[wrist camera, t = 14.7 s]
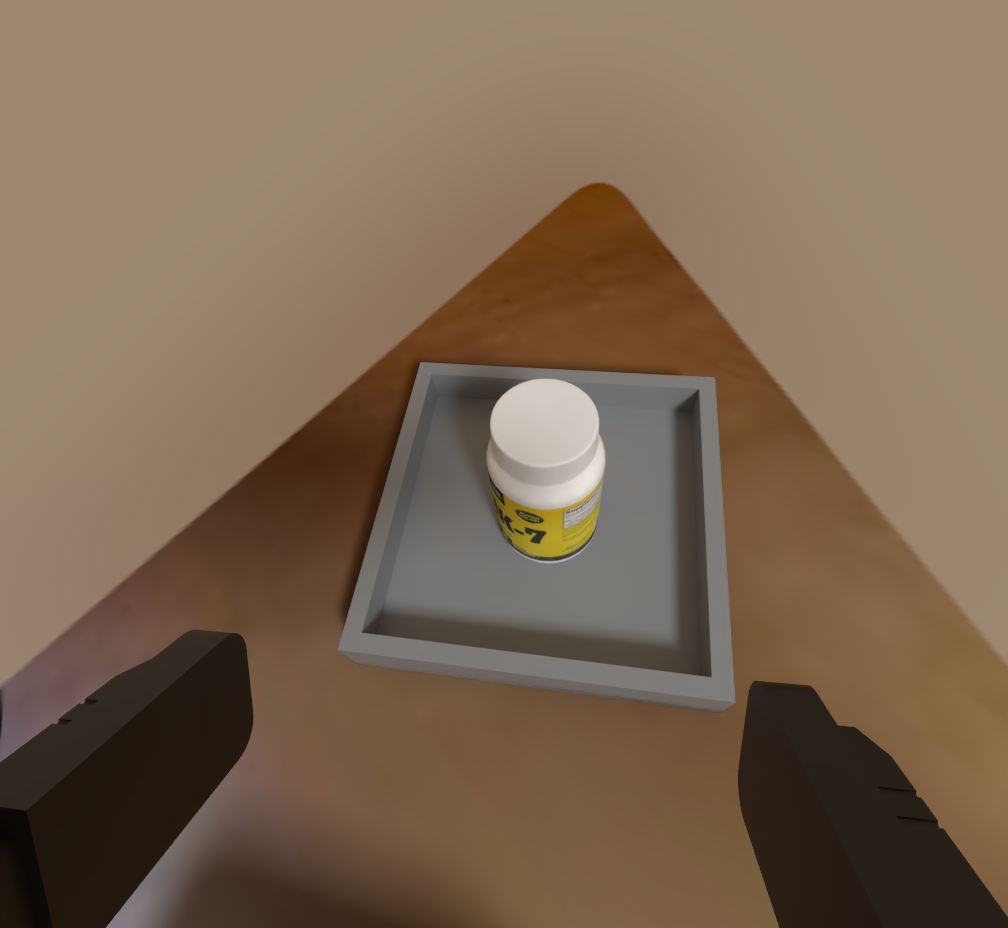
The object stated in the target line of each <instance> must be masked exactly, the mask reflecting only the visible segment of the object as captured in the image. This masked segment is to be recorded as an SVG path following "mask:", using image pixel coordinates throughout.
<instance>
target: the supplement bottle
mask: <svg viewBox="0 0 1008 928" xmlns="http://www.w3.org/2000/svg"><path fill="white" fill-rule="evenodd" d="M490 434H491V439H490V441H489V444H488V448H487V467H488V474H489V478H490V483H491V487H492V492H493V497H494V501H495V506H496V511H497V516H498V520H499V525H500V529H501V532H502V534H503V537H504V538H505V540H506V542H507V543H508V544H509V546H510V547H511V548H512V549H513V550H514V551H516V552H517V553H518V554H520V555H521V556H523V557H525V558H527V559H529V560H532V561H535V562H539V563H559V562H563V561H566V560H569V559H571V558H573V557H575V556H576V555H578V554H579V553H580V552H582V551H583V550H584V549H585V548H586V547H587V545H588V544H589V543H590V541H591V540H592V538H593V536H594V534H595V530H596V527H597V522H598V513H599V507H600V499H601V492H602V485H603V478H604V470H605V463H606V460H605V449H604V445H603V442H602V439H601V437H600V435H599V416H598V412H597V409H596V407H595V405H594V403H593V401H592V400H591V399H590V397H589V396H588V395H587V394H586V393H585V392H584V391H582V390H581V389H580V388H578V387H576V386H575V385H573V384H571V383H568V382H565V381H561V380H557V379H534V380H530V381H526V382H523V383H521V384H518V385H516V386H514V387H513V388H511V389H509V390H508V391H507V392H506V393H504V394H503V395H502V396H501V398H500V399H499V400H498V401H497V403H496V404H495V406H494V408H493V411H492V414H491V418H490Z"/></svg>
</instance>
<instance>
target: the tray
mask: <svg viewBox="0 0 1008 928" xmlns="http://www.w3.org/2000/svg"><path fill="white" fill-rule="evenodd" d="M534 379H557V380H561V381H565V382H568V383H571V384H573V385H575V386H576V387H578V388H580V389H581V390H582V391H584V392H585V393H586V394H587V395H588V396H589V397H590V399H591V400H592V401H593V403H594V405H595V407H596V409H597V412H598V416H599V435H600V437H601V439H602V442H603V445H604V449H605V460H606V463H605V470H604V478H603V485H602V492H601V499H600V507H599V513H598V522H597V527H596V530H595V534H594V536H593V538H592V540H591V541H590V543H589V544H588V545H587V547H586V548H585V549H584V550H583V551H582V552H580V553H579V554H578V555H576V556H575V557H573V558H571V559H569V560H566V561H563V562H559V563H539V562H535V561H532V560H529V559H527V558H525V557H523V556H521V555H520V554H518V553H517V552H516V551H514V550H513V549H512V548H511V547H510V546H509V544H508V543H507V542H506V540H505V538H504V537H503V534H502V532H501V529H500V525H499V520H498V516H497V511H496V506H495V501H494V497H493V492H492V487H491V483H490V478H489V474H488V467H487V448H488V444H489V441H490V439H491V434H490V418H491V414H492V411H493V408H494V406H495V404H496V403H497V401H498V400H499V399H500V398H501V396H502V395H503V394H504V393H506V392H507V391H508V390H509V389H511V388H513V387H514V386H516V385H518V384H521V383H523V382H526V381H530V380H534ZM338 650H339V651H340V652H341V653H343V654H344V655H346V656H347V657H348V658H350V659H351V660H352V661H354V662H355V663H357V664H365V665H372V666H379V667H387V668H394V669H401V670H409V671H416V672H423V673H431V674H438V675H445V676H453V677H460V678H467V679H475V680H482V681H489V682H497V683H504V684H511V685H519V686H526V687H533V688H541V689H548V690H555V691H563V692H570V693H577V694H585V695H592V696H599V697H607V698H614V699H621V700H629V701H636V702H643V703H651V704H658V705H665V706H673V707H680V708H687V709H695V710H702V711H709V712H717V713H720V712H721V711H723V710H725V709H726V708H728V707H729V706H731V705H733V704H734V703H735V690H734V674H733V658H732V642H731V626H730V610H729V594H728V578H727V562H726V546H725V530H724V514H723V498H722V482H721V466H720V450H719V434H718V418H717V402H716V386H715V378H714V377H695V376H676V375H656V374H637V373H618V372H599V371H579V370H560V369H541V368H522V367H502V366H483V365H464V364H445V363H425V362H420V366H419V369H418V373H417V376H416V380H415V383H414V386H413V390H412V393H411V397H410V400H409V404H408V407H407V411H406V414H405V418H404V421H403V425H402V428H401V432H400V435H399V439H398V442H397V445H396V449H395V452H394V456H393V459H392V463H391V466H390V470H389V473H388V477H387V480H386V484H385V487H384V491H383V494H382V498H381V501H380V504H379V508H378V511H377V515H376V518H375V522H374V525H373V529H372V532H371V536H370V539H369V543H368V546H367V550H366V553H365V557H364V560H363V564H362V567H361V570H360V574H359V577H358V581H357V584H356V588H355V591H354V595H353V598H352V602H351V605H350V609H349V612H348V616H347V619H346V623H345V626H344V629H343V633H342V636H341V640H340V643H339V647H338Z"/></svg>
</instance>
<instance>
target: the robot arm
mask: <svg viewBox="0 0 1008 928" xmlns="http://www.w3.org/2000/svg"><path fill="white" fill-rule="evenodd" d="M252 727H253V707H252V697H251V688H250V678H249V669H248V659H247V650H246V644H245V641H244V639H243V637H242V636H241V635H239V634H236V633H225V632H214V631H203V630H191V631H188V632H187V633H185V634H184V635H182V636H181V637H180V638H178V639H177V640H176V641H174V642H173V643H172V644H171V645H169V646H168V647H167V648H165V649H164V650H163V651H162V652H160V653H159V654H158V655H156V656H155V657H154V658H152V659H150V660H148V661H146V662H144V663H142V664H140V665H138V666H136V667H134V668H131V669H129V670H127V671H125V672H123V673H121V674H119V675H117V676H115V677H114V678H113V679H111V680H110V681H109V682H107V683H106V684H105V685H103V686H102V687H101V688H99V689H98V690H97V691H95V692H94V693H93V694H91V695H90V696H89V697H87V698H86V699H85V702H84V704H78V705H77V706H75V707H74V708H72V709H71V710H70V711H68V712H67V713H66V714H64V715H63V716H62V717H60V718H59V722H58V723H57V724H51V725H50V726H48V727H47V728H46V729H44V730H43V731H42V732H40V733H39V734H38V735H36V736H35V737H34V738H32V739H31V740H30V741H28V742H27V743H26V744H24V745H23V746H22V747H20V748H19V749H18V750H16V751H15V752H14V753H12V754H11V755H10V756H8V757H7V758H6V759H4V760H3V761H2V762H0V928H106V927H107V925H108V924H109V923H110V922H111V920H112V919H113V918H114V916H115V915H116V914H117V913H118V911H119V910H120V909H121V908H122V906H123V905H124V904H125V903H126V901H127V900H128V899H129V898H130V896H131V895H132V894H133V892H134V891H135V890H136V889H137V887H138V886H139V885H140V884H141V882H142V881H143V880H144V879H145V877H146V876H147V875H148V874H149V872H150V871H151V870H152V869H153V867H154V866H155V865H156V863H157V862H158V861H159V860H160V858H161V857H162V856H163V855H164V853H165V852H166V851H167V850H168V848H169V847H170V846H171V845H172V843H173V842H174V841H175V839H176V838H177V837H178V836H179V834H180V833H181V832H182V831H183V829H184V828H185V827H186V826H187V824H188V823H189V822H190V821H191V819H192V818H193V817H194V815H195V814H196V813H197V812H198V810H199V809H200V808H201V807H202V805H203V804H204V803H205V802H206V800H207V799H208V798H209V797H210V795H211V794H212V793H213V792H214V790H215V789H216V788H217V786H218V785H219V784H220V783H221V781H222V780H223V779H224V778H225V776H226V775H227V774H228V773H229V771H230V770H231V769H232V768H233V766H234V765H235V764H236V762H237V761H238V760H239V759H240V757H241V756H242V754H243V752H244V751H245V749H246V746H247V744H248V742H249V739H250V735H251V732H252ZM738 790H739V799H740V806H741V811H742V815H743V819H744V822H745V825H746V828H747V831H748V834H749V837H750V840H751V843H752V846H753V849H754V852H755V855H756V858H757V861H758V864H759V867H760V870H761V873H762V876H763V879H764V882H765V885H766V889H767V892H768V895H769V898H770V901H771V904H772V907H773V910H774V913H775V916H776V919H777V922H778V925H779V928H1008V917H1007V916H1006V914H1005V913H1004V911H1003V910H1002V909H1001V907H1000V906H999V905H998V903H997V902H996V900H995V899H994V898H993V896H992V895H991V893H990V892H989V891H988V889H987V888H986V887H985V885H984V884H983V882H982V881H981V880H980V878H979V877H978V876H977V874H976V873H975V871H974V870H973V869H972V867H971V866H970V864H969V863H968V862H967V860H966V859H965V858H964V856H963V855H962V853H961V852H960V851H959V849H958V848H957V847H956V845H955V844H954V842H953V841H952V840H951V838H950V837H949V835H948V834H947V833H946V831H945V830H944V829H942V828H939V826H938V820H937V819H936V818H935V816H934V815H933V813H932V812H931V811H930V809H929V808H928V806H927V805H926V804H925V802H924V801H923V800H922V798H919V797H917V795H916V790H915V789H914V787H913V786H912V784H911V783H910V782H909V780H908V779H907V777H906V776H905V775H904V773H903V772H902V771H901V769H900V768H899V766H898V765H897V764H896V762H895V761H894V760H893V758H892V757H891V756H890V755H889V754H888V753H886V752H885V751H884V750H883V749H881V748H880V747H879V746H878V745H876V744H875V743H874V742H873V741H871V740H870V739H869V738H868V737H867V736H865V735H864V734H863V733H862V732H860V731H859V730H858V729H857V728H855V727H847V726H838V725H837V724H836V722H835V721H834V719H833V717H832V716H831V714H830V713H829V711H828V710H827V708H826V707H825V705H824V703H823V702H822V700H821V699H820V697H819V696H818V694H817V693H816V691H815V690H814V689H813V688H812V687H811V686H808V685H797V684H786V683H775V682H763V681H754V682H753V683H752V684H751V687H750V690H749V695H748V702H747V709H746V716H745V724H744V731H743V739H742V746H741V754H740V761H739V770H738Z"/></svg>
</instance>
